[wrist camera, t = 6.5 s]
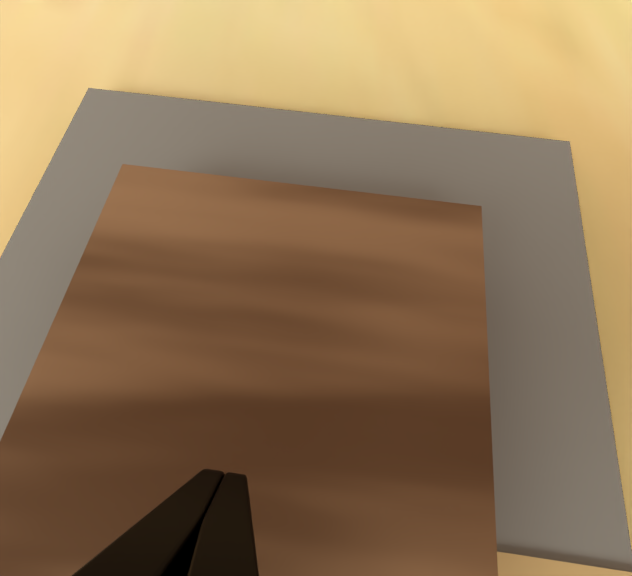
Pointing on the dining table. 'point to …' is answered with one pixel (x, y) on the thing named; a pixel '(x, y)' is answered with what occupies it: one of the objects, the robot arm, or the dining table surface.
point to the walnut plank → (264, 379)
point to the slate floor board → (397, 180)
